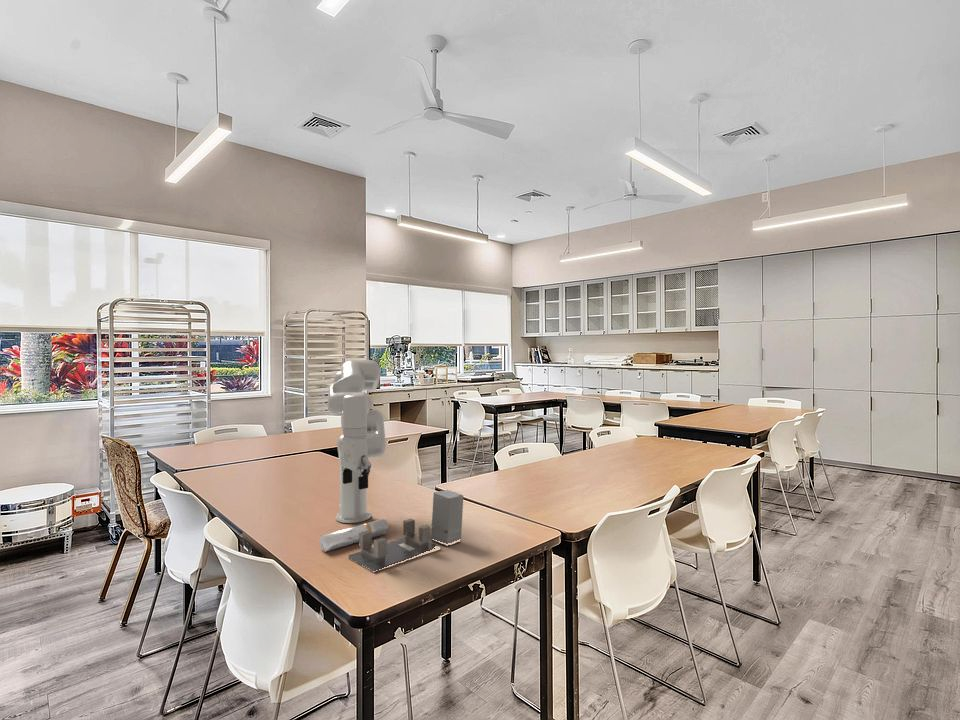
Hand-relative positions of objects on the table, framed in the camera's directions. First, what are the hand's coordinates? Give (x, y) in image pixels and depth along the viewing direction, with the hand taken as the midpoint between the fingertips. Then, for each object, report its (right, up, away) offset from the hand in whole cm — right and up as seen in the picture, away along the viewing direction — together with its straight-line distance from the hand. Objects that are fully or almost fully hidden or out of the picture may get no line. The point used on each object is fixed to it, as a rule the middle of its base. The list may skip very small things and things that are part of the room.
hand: (355, 485), depth 164 cm
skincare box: (+30, -19, +1) cm, 35 cm away
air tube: (0, -16, 0) cm, 16 cm away
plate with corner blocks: (+14, -19, -9) cm, 25 cm away
